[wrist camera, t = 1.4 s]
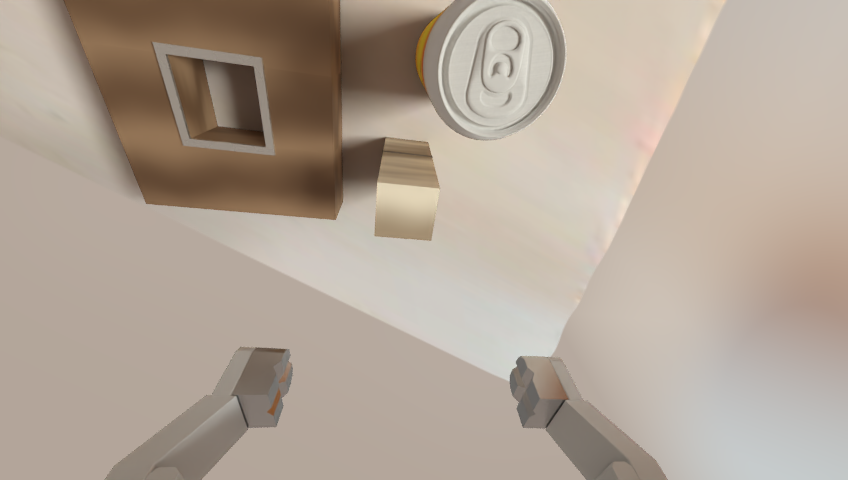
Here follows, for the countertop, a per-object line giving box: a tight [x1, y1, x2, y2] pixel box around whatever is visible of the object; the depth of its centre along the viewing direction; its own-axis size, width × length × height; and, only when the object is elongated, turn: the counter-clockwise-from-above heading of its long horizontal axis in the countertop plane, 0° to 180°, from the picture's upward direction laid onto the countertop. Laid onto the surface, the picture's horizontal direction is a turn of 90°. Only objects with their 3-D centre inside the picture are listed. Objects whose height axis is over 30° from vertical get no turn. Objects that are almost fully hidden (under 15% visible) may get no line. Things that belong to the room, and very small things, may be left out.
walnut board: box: [64, 0, 343, 220], centre depth 24 cm, size 18×16×4 cm
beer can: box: [415, 0, 566, 140], centre depth 18 cm, size 6×6×15 cm
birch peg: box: [375, 137, 440, 241], centre depth 25 cm, size 4×4×11 cm
